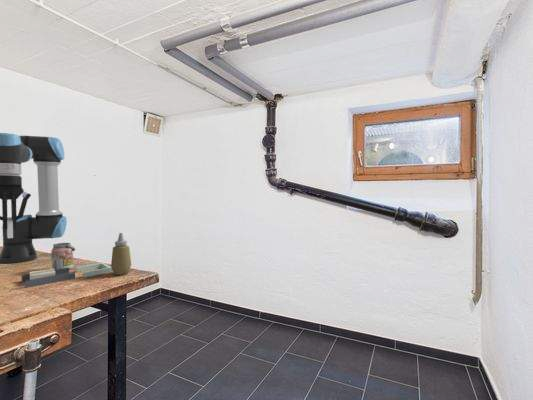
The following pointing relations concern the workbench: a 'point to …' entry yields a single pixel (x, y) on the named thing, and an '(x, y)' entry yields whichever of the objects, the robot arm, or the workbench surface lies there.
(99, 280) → the workbench surface
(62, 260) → the beverage can
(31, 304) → the workbench surface
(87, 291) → the workbench surface
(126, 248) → the squeeze bottle
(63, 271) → the chute
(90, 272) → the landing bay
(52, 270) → the block
